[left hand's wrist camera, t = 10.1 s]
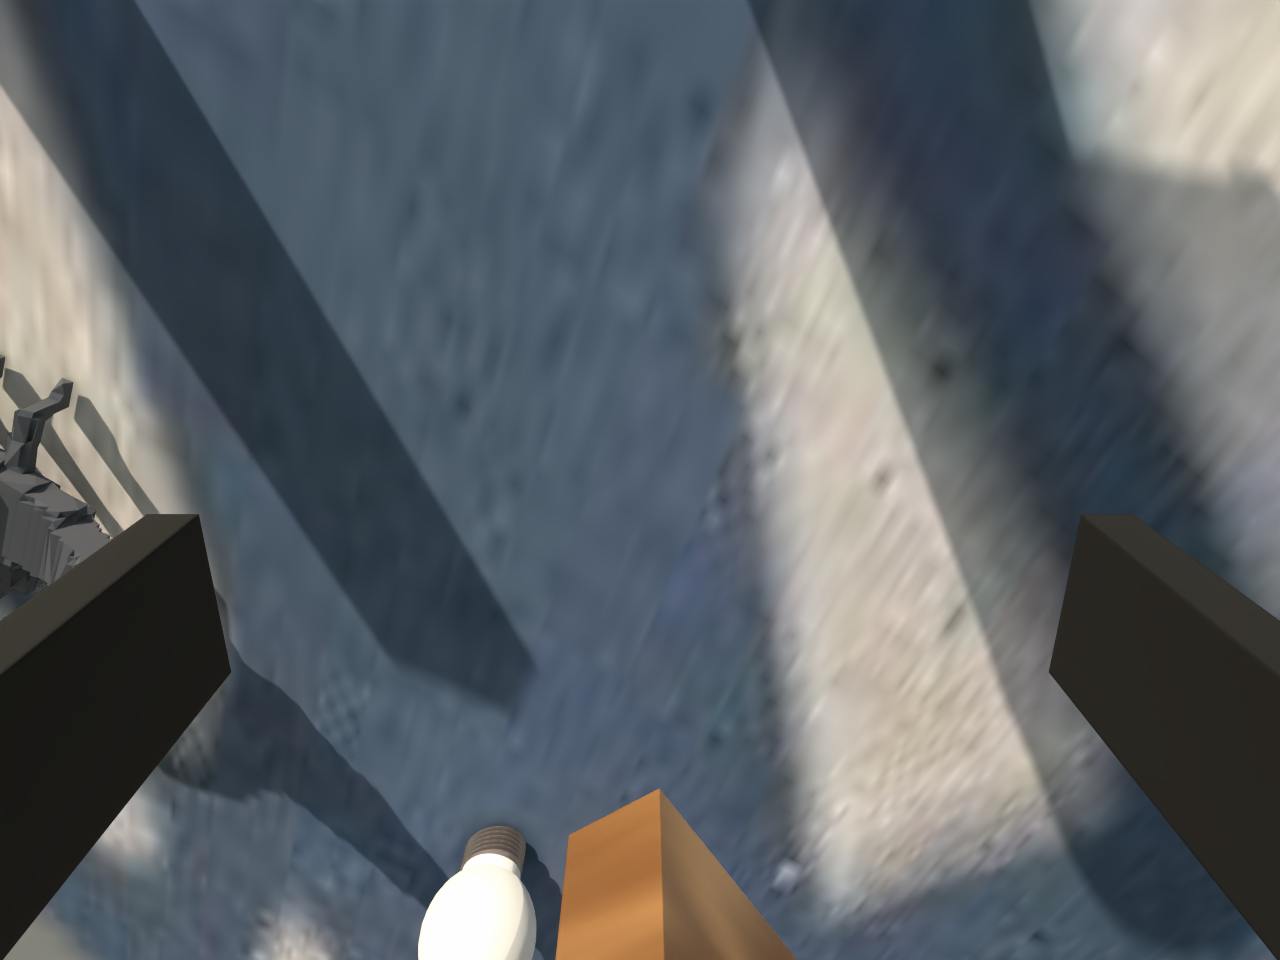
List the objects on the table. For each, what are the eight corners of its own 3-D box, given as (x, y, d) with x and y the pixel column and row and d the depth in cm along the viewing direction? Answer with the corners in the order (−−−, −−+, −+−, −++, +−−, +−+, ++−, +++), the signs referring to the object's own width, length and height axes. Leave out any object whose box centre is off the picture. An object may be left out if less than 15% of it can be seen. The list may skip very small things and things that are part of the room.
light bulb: (501, 792, 54) (469, 941, 44) (568, 856, 56) (552, 1014, 46) (424, 842, 55) (375, 997, 45) (491, 903, 57) (459, 1066, 47)
